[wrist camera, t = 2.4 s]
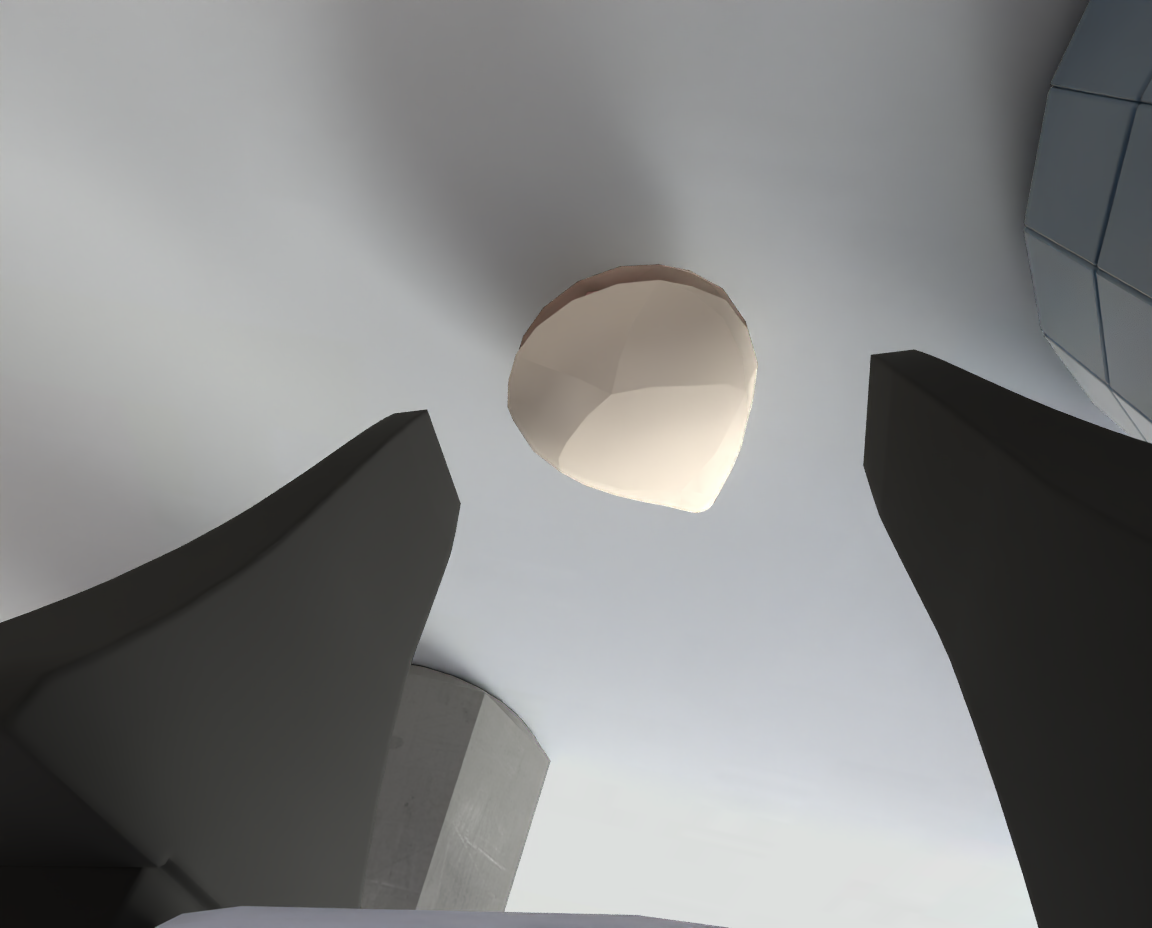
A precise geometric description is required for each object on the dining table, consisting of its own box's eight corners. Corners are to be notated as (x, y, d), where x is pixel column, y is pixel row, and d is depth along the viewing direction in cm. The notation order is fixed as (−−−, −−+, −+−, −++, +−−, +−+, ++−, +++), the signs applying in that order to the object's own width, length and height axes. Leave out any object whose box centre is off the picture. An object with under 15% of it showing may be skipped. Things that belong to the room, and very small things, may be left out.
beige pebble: (694, 203, 11) (705, 248, 9) (801, 434, 13) (829, 513, 11) (483, 320, 12) (448, 383, 10) (610, 509, 14) (604, 591, 12)
